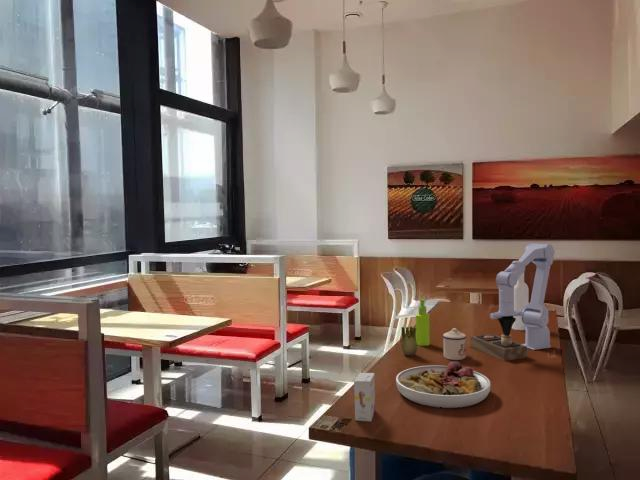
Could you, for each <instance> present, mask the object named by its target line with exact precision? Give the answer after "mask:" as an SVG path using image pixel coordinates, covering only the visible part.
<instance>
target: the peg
mask: <svg viewBox="0 0 640 480" xmlns="http://www.w3.org/2000/svg"><path fill="white" fill-rule="evenodd" d="M500 337H501V344H503V345H512V341H513V339H512V338H513V335H512V334H510V335H508V336H506V335H504V334H503V333H502V334H501V335H500Z"/></svg>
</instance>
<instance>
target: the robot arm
mask: <svg viewBox="0 0 640 480" xmlns="http://www.w3.org/2000/svg"><path fill="white" fill-rule="evenodd" d="M524 250H525V251H524V252H523V254H522V256H521V257H520V258H519V259H518V260H513V261H512V262H511V264H510V265H509V266H508V267H506V269H504V271H500V272H498V273H497V274H496V277H495V283H496V285H497V289H498V311H496V312H491V313H489V319H491V320H495V319H497V320H498V323H499V324H500V327H501V330H502V335H503V334H504V335H506V336H508V335H511V331H512V325H513V323H514V322H515V320H516V318H514V317H513V316H521V320H522V322H523V323H524V326H526V330H525V342H524V343H522V345H524V346H527V349H529V350H532V351H533V350H534V351H536V350H542V349H550V348H552V345H551V333H550V328H549V327H548V326H547V325H548V324H549V321H550V318H549V312H550V311H549V309H548V308H547V307H546V306H545V305H544V302H545V297H546V291H547V286H548V280H549V276H550V270H551V266H552V265H553V263H554V257H555V249H554V247H553V245H552V244H550V243H546V244H545V243H533V242H530V243H528V244H527V245H526V246H525V249H524ZM531 262H532V263H533V264H534V265H535V266H536V270H535V275H534V280H533V285H532V291H531V297H530V302H528V304H527V305H525V306H524V310H523V311H520V310H518V311H514V286H515V285H516V284H517V281H518V279H519V276H520V275H521V274H522V273H523V272H524V273H525V272H526V266H528V265H529V264H530V263H531Z"/></svg>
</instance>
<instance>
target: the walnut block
mask: <svg viewBox="0 0 640 480" xmlns="http://www.w3.org/2000/svg"><path fill="white" fill-rule="evenodd" d="M484 336H494V338H492V339H486V338H484ZM469 342H470V343H469V346H470V348H471V349H474V350H476V351H479V352H481V353H483V354H487V355H489V356H491V357H494V358H496V359H500V360H501V361H505V362H507V361H511V360H520V359H526V358H528V348H527V346H524V345H522V344H523V343H522V344H521V343H518V342H516V341H513V340H512V345H503V344H501V336H498V335H495V334H492V333H489V334H480V335H474V336H473V335H472V336H470V337H469Z"/></svg>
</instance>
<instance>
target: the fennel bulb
mask: <svg viewBox="0 0 640 480" xmlns="http://www.w3.org/2000/svg"><path fill="white" fill-rule="evenodd" d="M400 330H401V342H400V343H401V350H402V353H403V354H404V355H405V356H408V357H413V356H415V355H416V354H417V353H418V345H417V343H416V326H412V325H410V326H401V329H400Z"/></svg>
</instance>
